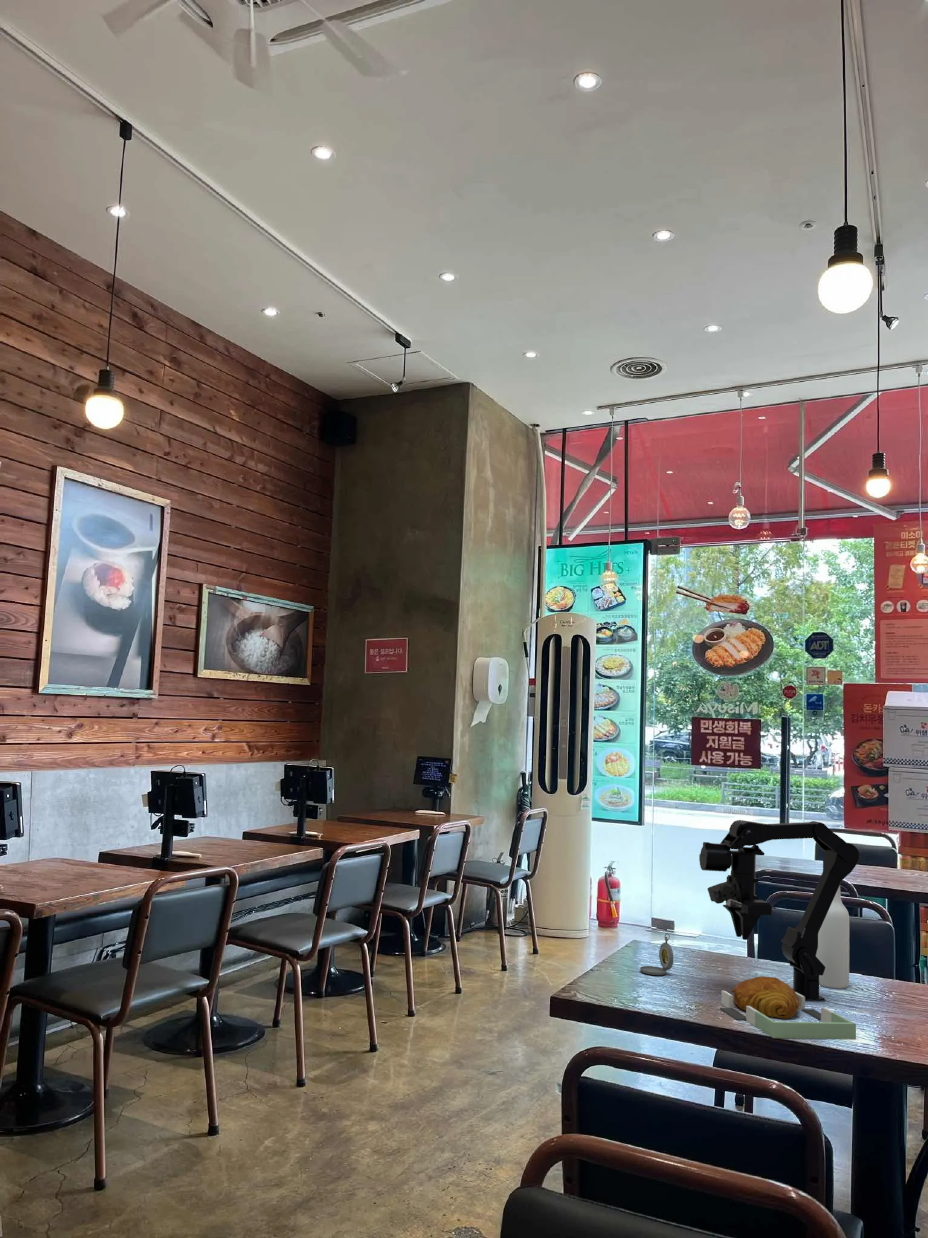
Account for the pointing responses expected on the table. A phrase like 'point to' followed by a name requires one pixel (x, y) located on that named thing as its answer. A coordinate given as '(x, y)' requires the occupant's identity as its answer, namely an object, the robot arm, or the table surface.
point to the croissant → (767, 997)
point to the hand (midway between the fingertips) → (741, 938)
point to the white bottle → (834, 946)
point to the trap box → (826, 1029)
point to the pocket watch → (661, 960)
